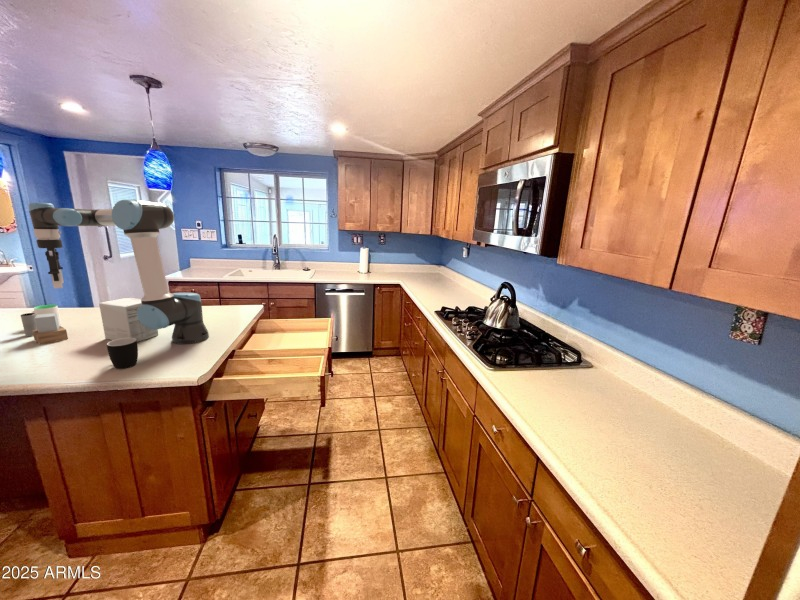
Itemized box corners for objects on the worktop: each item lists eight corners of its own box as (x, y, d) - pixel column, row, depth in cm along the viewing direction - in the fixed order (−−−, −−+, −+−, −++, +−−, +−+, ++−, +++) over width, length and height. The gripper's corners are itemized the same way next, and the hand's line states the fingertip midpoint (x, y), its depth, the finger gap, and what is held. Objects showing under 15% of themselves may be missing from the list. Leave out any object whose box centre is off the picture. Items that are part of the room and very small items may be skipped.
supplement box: (159, 335, 158) (154, 300, 154) (131, 344, 146) (125, 306, 141) (134, 330, 162) (128, 296, 158) (104, 339, 150) (97, 302, 146)
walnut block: (68, 339, 148) (66, 329, 147) (40, 345, 141) (37, 334, 139) (62, 335, 153) (60, 325, 151) (34, 340, 145) (32, 330, 144)
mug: (145, 363, 128) (141, 340, 125) (118, 372, 120) (114, 347, 117) (128, 357, 132) (125, 334, 130) (102, 365, 125) (97, 341, 122)
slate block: (57, 330, 145) (54, 316, 144) (38, 333, 141) (34, 318, 140) (59, 327, 150) (56, 312, 148) (40, 329, 146) (37, 314, 144)
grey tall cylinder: (24, 335, 150) (19, 314, 148) (38, 332, 154) (34, 312, 152) (26, 337, 148) (21, 316, 145) (40, 334, 152) (36, 314, 149)
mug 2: (32, 331, 155) (28, 311, 152) (23, 329, 157) (18, 309, 155) (65, 325, 166) (60, 306, 163) (56, 322, 168) (51, 304, 166)
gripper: (59, 240, 134) (70, 289, 139) (62, 237, 151) (71, 280, 156) (33, 240, 129) (45, 291, 134) (38, 237, 146) (49, 282, 151)
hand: (59, 285), depth 145 cm, fingers open, 13 cm apart
